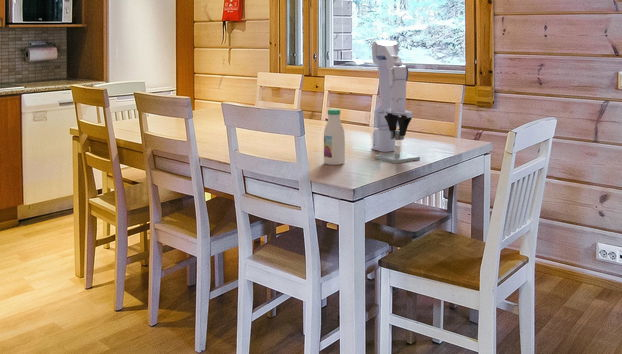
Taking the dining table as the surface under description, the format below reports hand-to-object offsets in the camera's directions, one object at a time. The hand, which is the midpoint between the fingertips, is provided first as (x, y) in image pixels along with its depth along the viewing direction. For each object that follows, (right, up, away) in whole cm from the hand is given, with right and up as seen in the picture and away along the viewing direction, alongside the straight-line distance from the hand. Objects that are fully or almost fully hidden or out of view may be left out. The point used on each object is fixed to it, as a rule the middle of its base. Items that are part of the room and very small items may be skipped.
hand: (397, 134), depth 243 cm
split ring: (0, -2, 0) cm, 2 cm away
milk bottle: (-24, -11, -4) cm, 27 cm away
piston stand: (0, -9, +2) cm, 9 cm away
